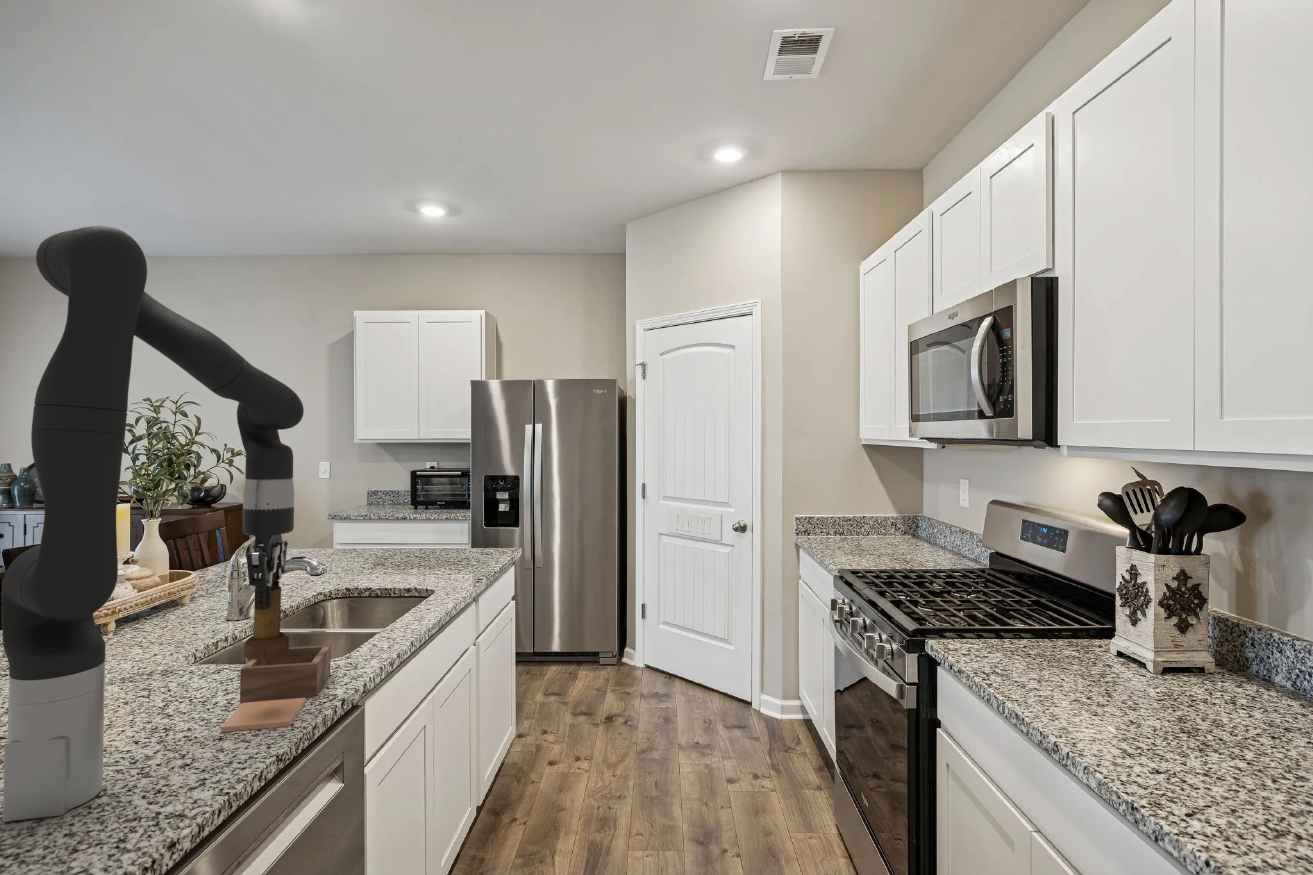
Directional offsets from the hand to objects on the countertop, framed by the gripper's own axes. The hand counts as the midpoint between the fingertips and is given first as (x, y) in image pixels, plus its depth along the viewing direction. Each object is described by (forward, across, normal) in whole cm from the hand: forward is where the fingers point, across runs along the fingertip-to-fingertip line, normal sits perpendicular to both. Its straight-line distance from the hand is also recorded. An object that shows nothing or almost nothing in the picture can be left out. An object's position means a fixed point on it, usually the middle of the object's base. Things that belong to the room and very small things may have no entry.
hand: (267, 605), depth 110 cm
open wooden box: (+19, +13, 0) cm, 23 cm away
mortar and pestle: (+8, 0, 0) cm, 8 cm away
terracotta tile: (+19, 0, 0) cm, 19 cm away
